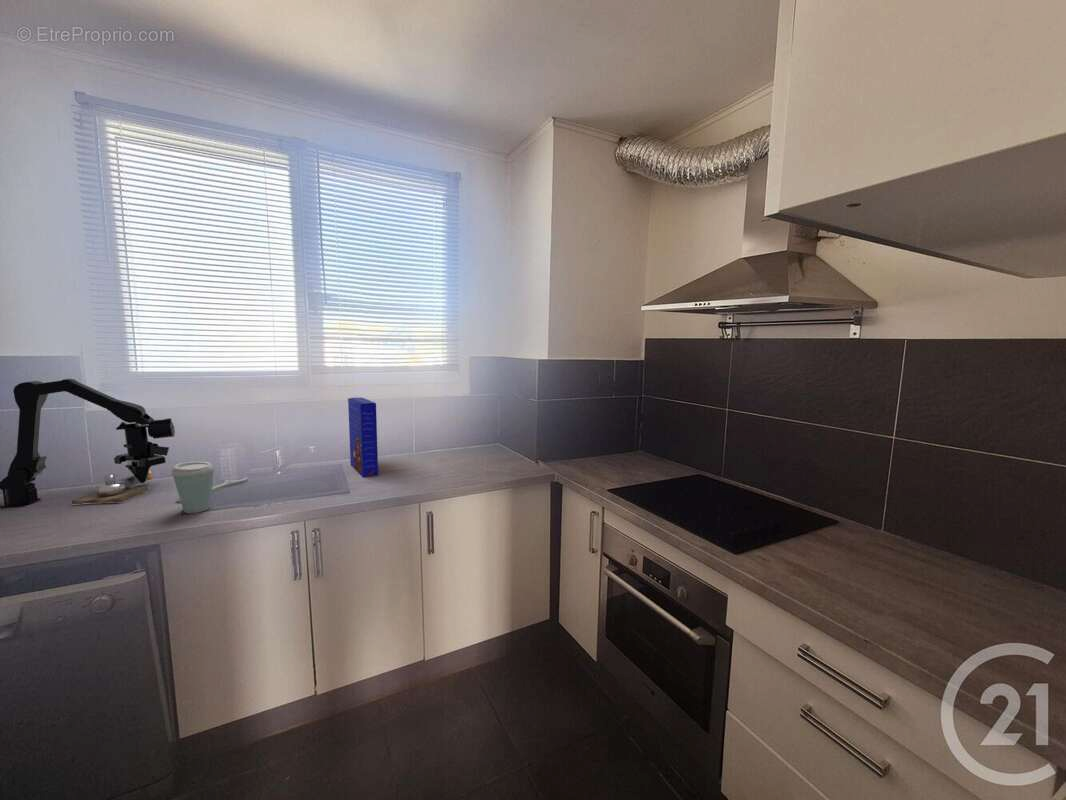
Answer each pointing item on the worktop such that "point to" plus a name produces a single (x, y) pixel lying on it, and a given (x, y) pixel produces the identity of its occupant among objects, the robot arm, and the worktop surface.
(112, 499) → the block
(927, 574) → the worktop surface
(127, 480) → the amber-knobbed lever
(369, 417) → the cereal box
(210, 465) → the disposable coffee cup
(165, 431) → the robot arm
